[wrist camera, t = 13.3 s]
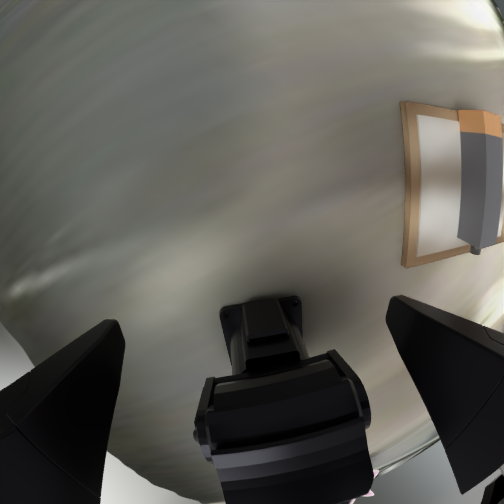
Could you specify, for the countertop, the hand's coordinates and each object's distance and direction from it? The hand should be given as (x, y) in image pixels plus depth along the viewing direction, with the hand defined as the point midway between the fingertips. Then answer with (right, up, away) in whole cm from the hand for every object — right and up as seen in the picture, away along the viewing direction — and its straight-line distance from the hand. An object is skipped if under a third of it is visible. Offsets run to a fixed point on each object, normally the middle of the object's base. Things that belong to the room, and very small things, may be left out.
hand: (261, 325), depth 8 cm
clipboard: (+21, +9, +11) cm, 26 cm away
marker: (+20, +9, +10) cm, 24 cm away
